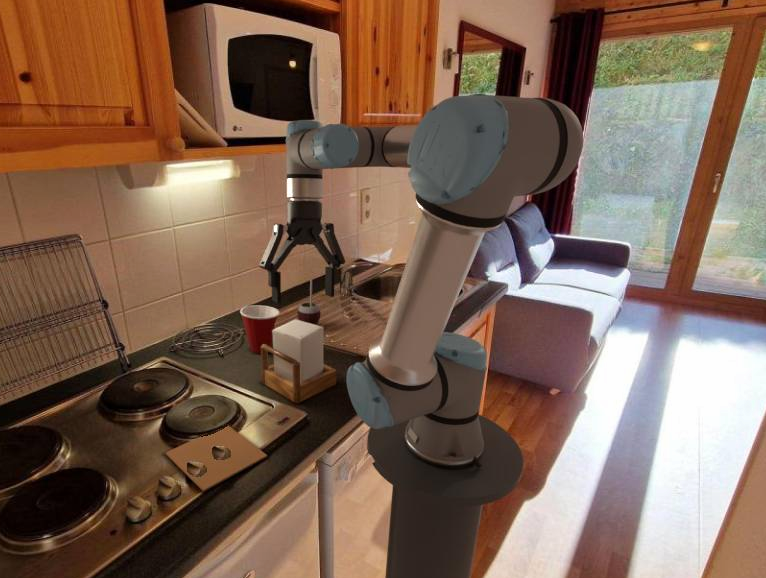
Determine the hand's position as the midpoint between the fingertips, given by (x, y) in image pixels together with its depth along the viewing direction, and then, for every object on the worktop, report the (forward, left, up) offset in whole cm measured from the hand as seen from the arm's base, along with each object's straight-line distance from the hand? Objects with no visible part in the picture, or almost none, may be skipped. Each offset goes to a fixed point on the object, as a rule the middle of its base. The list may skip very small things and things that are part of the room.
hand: (303, 298), depth 106 cm
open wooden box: (+3, -1, -23) cm, 24 cm away
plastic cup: (+25, -6, -24) cm, 35 cm away
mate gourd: (+27, -26, -24) cm, 45 cm away
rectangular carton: (+3, -1, -24) cm, 24 cm away
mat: (-7, +29, -23) cm, 38 cm away
